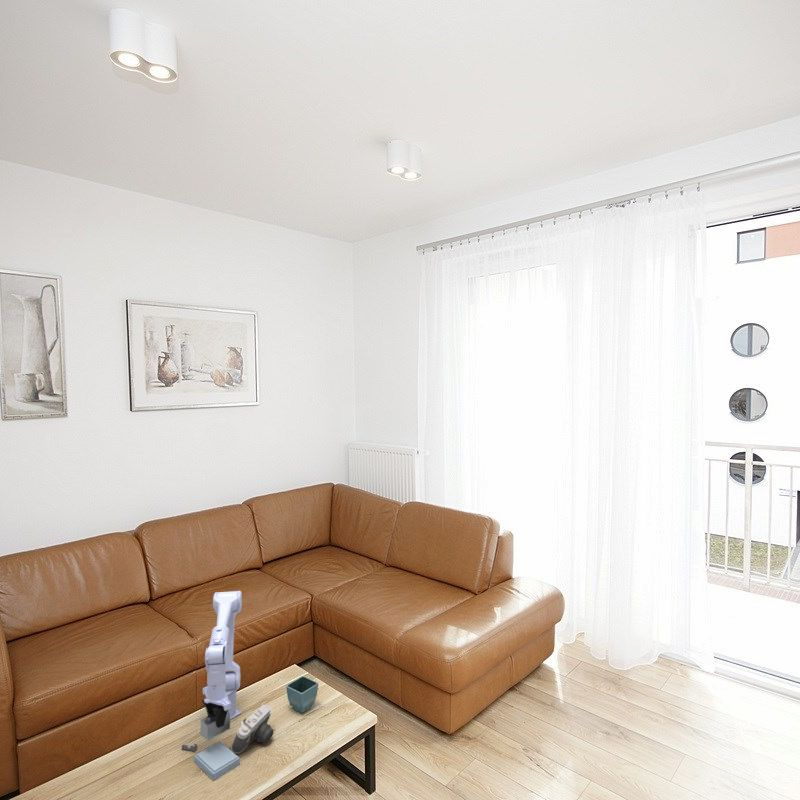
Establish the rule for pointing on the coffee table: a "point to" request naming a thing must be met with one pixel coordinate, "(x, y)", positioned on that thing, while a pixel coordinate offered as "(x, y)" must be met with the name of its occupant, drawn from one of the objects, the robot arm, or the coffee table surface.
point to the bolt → (190, 747)
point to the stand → (216, 760)
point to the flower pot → (302, 693)
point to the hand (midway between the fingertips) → (216, 722)
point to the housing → (213, 726)
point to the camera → (253, 729)
